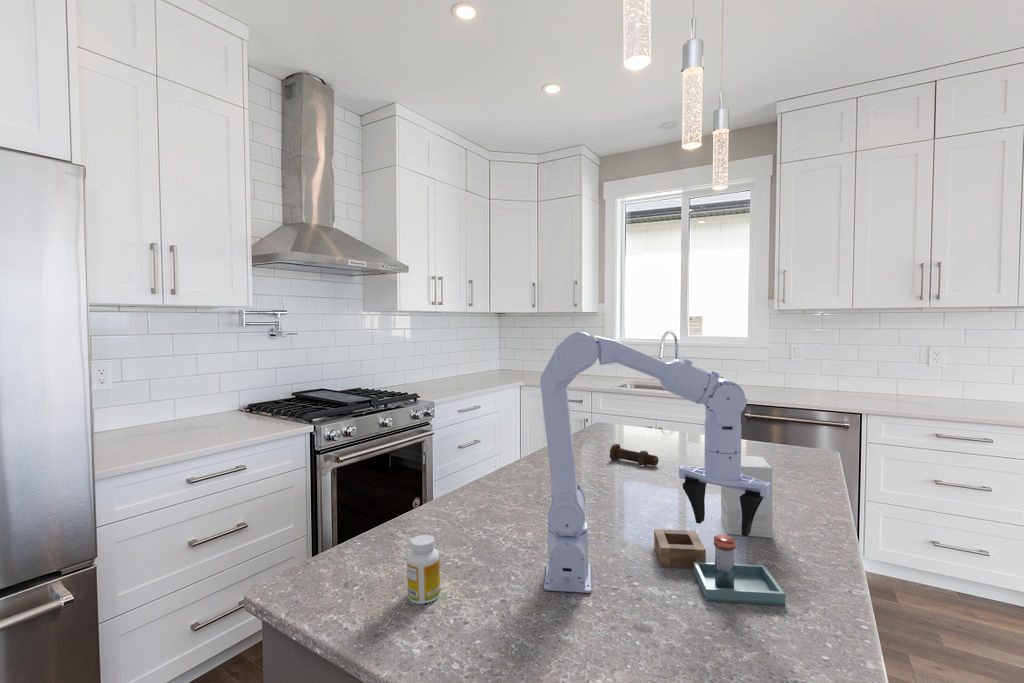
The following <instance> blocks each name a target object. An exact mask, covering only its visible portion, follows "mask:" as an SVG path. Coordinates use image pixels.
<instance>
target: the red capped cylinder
mask: <svg viewBox="0 0 1024 683" xmlns="http://www.w3.org/2000/svg"><path fill="white" fill-rule="evenodd" d="M736 541H737V540H736V539H735V538H734V537H733V536H729V535H725V534H717V535H715V536H713V545H714V563H715V585H716V586H717V587H718V588H727V589H734V564H735V549H736V543H737V542H736Z"/></svg>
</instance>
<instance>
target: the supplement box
mask: <svg viewBox="0 0 1024 683" xmlns="http://www.w3.org/2000/svg"><path fill="white" fill-rule="evenodd" d="M741 474H742V475H745V476H748V477H751V478H755V479H758V480H761V481H765V482H769V483H771V494H770V495H769V496H768V497H764V498H763V500H762V501H761V503H760V505H759V507H758V509H757V511H756V513H755V516H754V519H753V522H752V526H751V531H750V534H749V535H748V536H747V537H756V538H767V539H773V538H774V533H773V531H774V530H773V529H774V528H773V527H774V526H773V524H774V523H773V520H774V519H773V518H774V517H773V514H774V513H773V468H772V466H771V465H769V463H768V462H767V461H766V459H765V458H764V457H763V456H755V455H754V456H751V455H750V456H748V455H741ZM744 493H745V491H741V490H737V489H732V488H727V487H723V486H720V518H721V521H722V524H723V527H724V529H725V531H726V534H727V535H731V536H732V535H733V536H734V535H735V536H742V531H741V529H742V510H741V503H740V496H741V495H742V494H744Z"/></svg>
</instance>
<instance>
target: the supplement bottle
mask: <svg viewBox="0 0 1024 683" xmlns="http://www.w3.org/2000/svg"><path fill="white" fill-rule="evenodd" d="M435 541H436V540H435V537H434V536H432V535H430V534H420V535H417V536H414V537H412V538H411V540H410V550H411V551H409V552H408V554H407V557H406V570H407V571H406V572H407V573H406V574H407V576H406V577H407V597H408V600H409V601H410V602H411V603H413V604H415V603H416V604H415V605H426V604H425V603H427V604H430V603H432V601H433V602H435V601H436V600H437V599H439V597H440V594H441V571H440V569H441V568H440V553H439V551H438V550H437V549H436V548H435V546H436V542H435ZM434 600H435V601H434ZM429 602H430V603H429Z"/></svg>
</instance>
